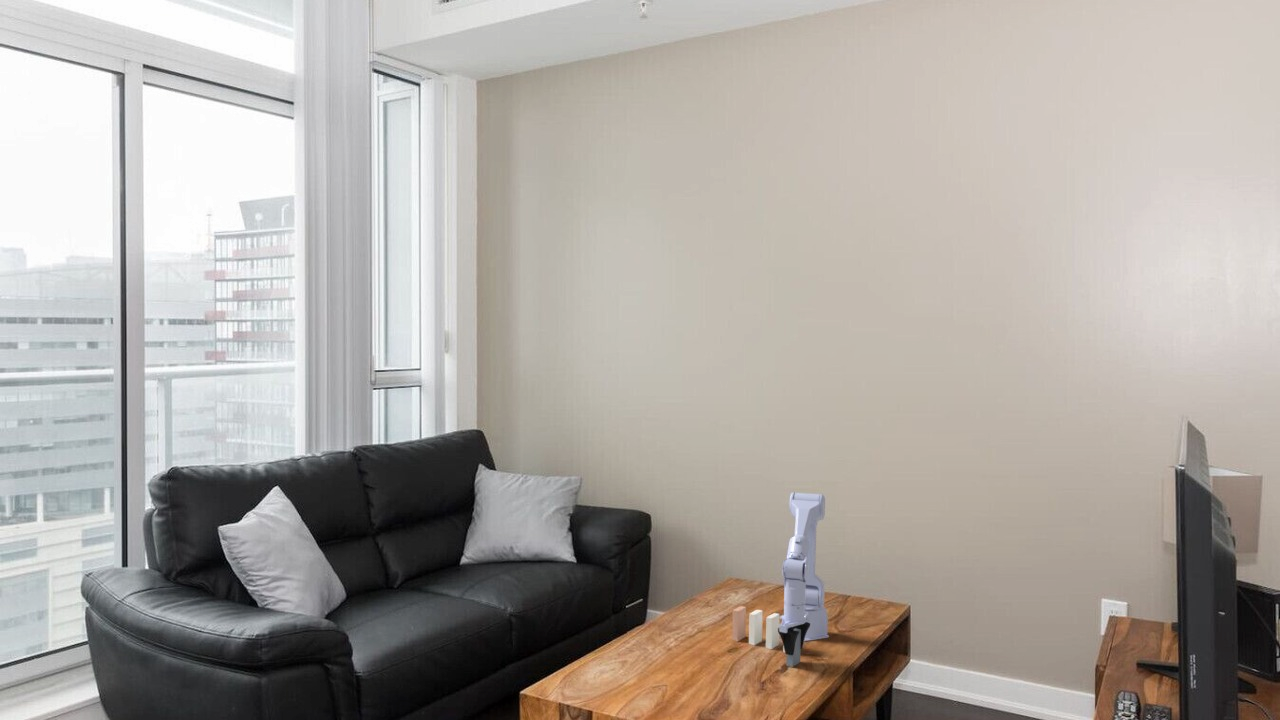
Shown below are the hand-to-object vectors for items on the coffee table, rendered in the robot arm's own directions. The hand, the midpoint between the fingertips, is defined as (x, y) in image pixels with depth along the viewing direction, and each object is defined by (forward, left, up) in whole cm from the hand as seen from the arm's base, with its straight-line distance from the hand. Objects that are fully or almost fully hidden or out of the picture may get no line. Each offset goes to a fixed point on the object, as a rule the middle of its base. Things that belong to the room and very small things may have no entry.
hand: (793, 651), depth 256 cm
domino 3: (-2, -14, -3) cm, 15 cm away
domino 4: (0, 0, -3) cm, 3 cm away
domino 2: (0, -19, -3) cm, 19 cm away
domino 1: (+3, -23, -3) cm, 24 cm away
